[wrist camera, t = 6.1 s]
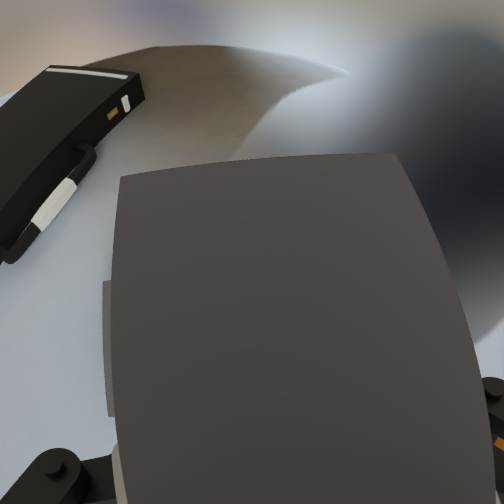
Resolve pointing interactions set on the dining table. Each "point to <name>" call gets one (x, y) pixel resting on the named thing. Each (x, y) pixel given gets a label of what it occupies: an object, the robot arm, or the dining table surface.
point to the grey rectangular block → (291, 339)
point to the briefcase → (54, 144)
